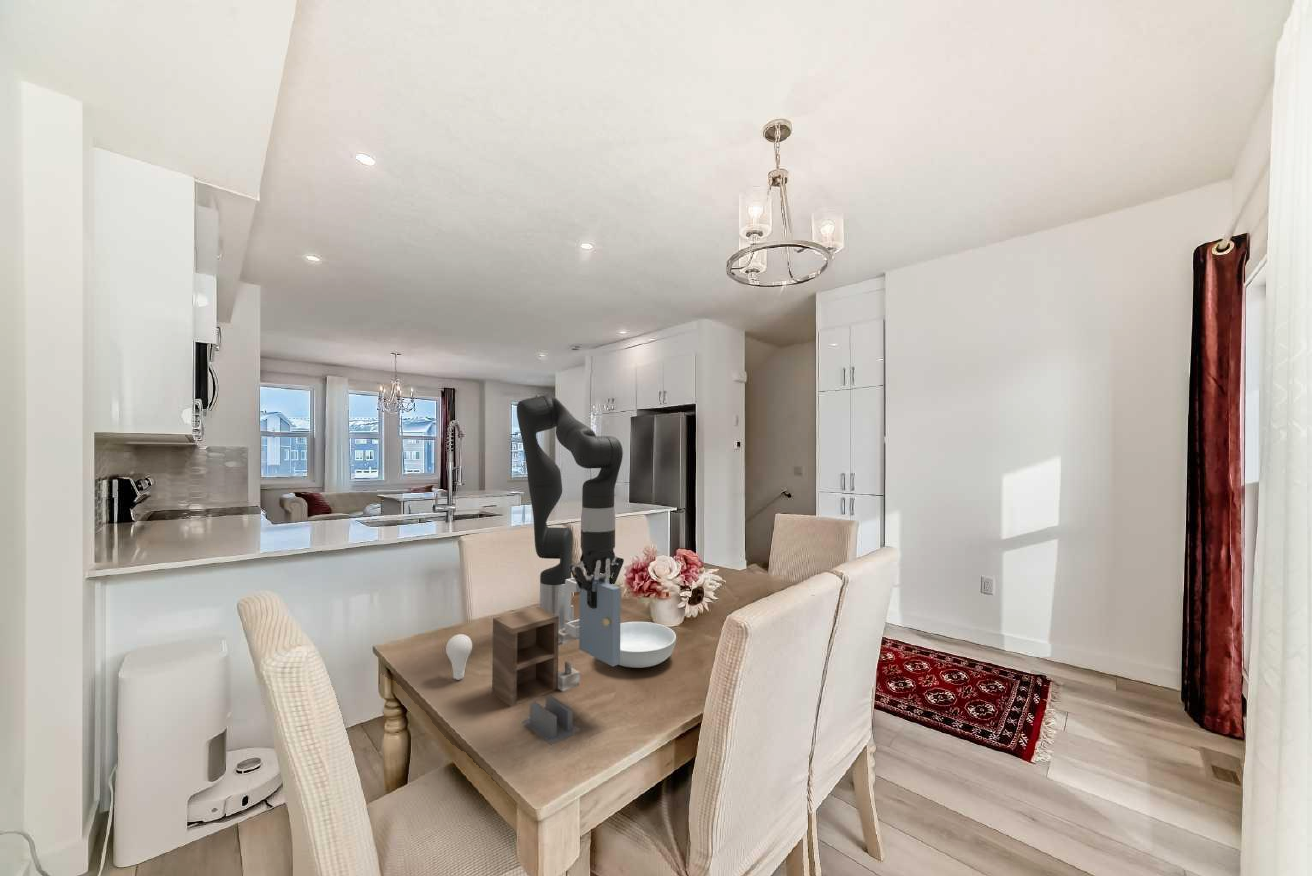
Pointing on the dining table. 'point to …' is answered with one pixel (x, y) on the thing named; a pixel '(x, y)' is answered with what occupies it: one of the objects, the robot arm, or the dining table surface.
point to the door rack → (551, 720)
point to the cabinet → (529, 656)
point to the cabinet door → (598, 622)
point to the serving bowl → (645, 644)
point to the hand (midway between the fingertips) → (597, 606)
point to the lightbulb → (459, 653)
